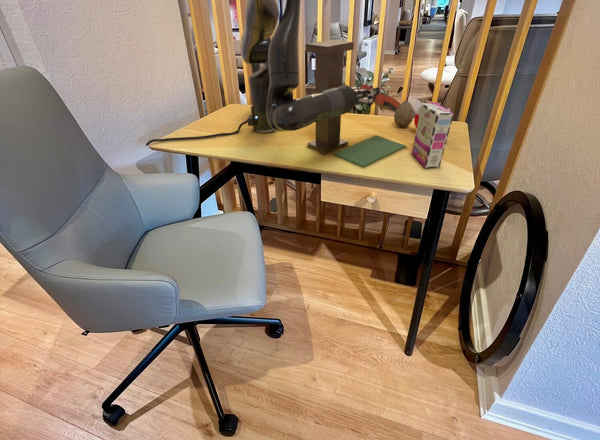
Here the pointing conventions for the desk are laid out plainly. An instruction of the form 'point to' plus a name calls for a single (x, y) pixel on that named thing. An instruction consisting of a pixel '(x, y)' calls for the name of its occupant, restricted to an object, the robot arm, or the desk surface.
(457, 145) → the desk surface
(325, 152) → the stand
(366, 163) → the felt mat
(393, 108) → the brush
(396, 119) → the decorative egg
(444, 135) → the candy bar box
